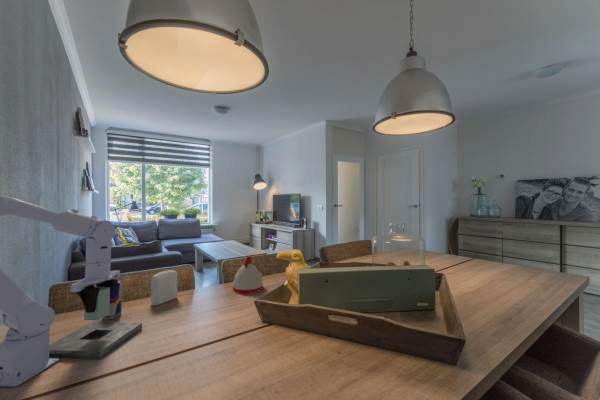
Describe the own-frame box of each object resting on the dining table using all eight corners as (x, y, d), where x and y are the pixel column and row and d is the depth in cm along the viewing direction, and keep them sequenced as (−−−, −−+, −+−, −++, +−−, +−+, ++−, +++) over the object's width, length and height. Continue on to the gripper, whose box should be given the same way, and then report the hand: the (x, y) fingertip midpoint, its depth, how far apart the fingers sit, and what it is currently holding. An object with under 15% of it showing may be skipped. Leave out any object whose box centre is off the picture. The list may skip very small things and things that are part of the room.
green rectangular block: (97, 320, 71) (98, 291, 71) (84, 320, 71) (84, 291, 71) (109, 314, 75) (109, 287, 75) (96, 314, 75) (96, 286, 75)
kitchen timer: (265, 284, 126) (266, 254, 126) (257, 294, 112) (257, 260, 113) (239, 283, 128) (239, 253, 128) (227, 292, 114) (228, 259, 115)
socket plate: (99, 359, 64) (99, 351, 64) (40, 357, 65) (40, 349, 65) (142, 328, 80) (142, 322, 80) (93, 327, 81) (93, 321, 81)
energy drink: (111, 320, 86) (112, 285, 86) (98, 319, 87) (99, 284, 87) (125, 314, 91) (125, 280, 91) (112, 312, 92) (113, 279, 92)
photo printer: (155, 306, 98) (156, 274, 98) (148, 304, 100) (149, 273, 100) (179, 298, 107) (179, 268, 107) (172, 296, 109) (172, 267, 109)
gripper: (89, 267, 66) (88, 320, 65) (129, 256, 80) (128, 299, 80) (63, 267, 66) (62, 319, 66) (108, 256, 81) (107, 299, 80)
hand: (97, 308), depth 73 cm, fingers closed on green rectangular block, 4 cm apart
